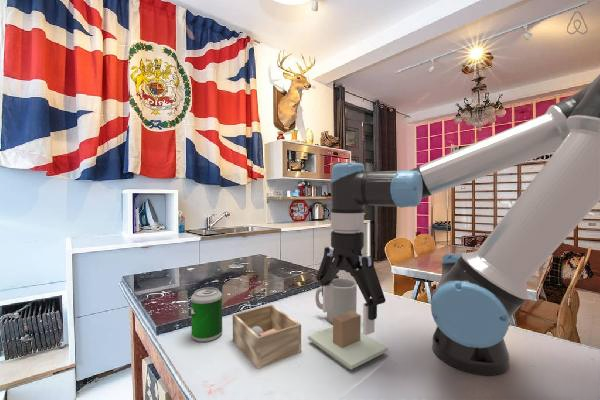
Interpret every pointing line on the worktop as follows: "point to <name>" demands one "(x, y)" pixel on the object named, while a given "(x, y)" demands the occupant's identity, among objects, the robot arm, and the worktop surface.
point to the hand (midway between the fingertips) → (346, 321)
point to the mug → (340, 298)
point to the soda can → (206, 314)
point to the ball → (257, 330)
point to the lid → (348, 341)
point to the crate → (266, 335)
